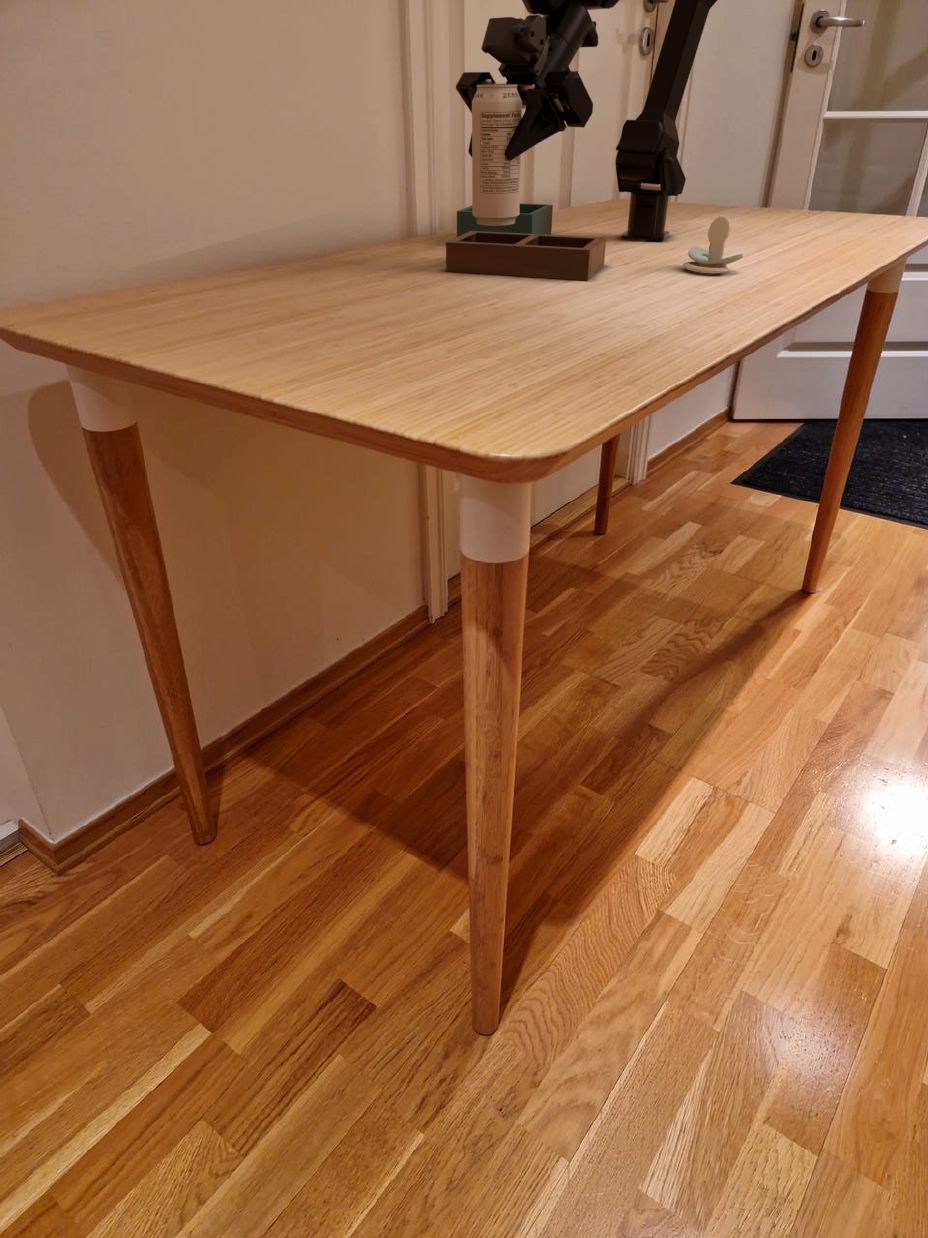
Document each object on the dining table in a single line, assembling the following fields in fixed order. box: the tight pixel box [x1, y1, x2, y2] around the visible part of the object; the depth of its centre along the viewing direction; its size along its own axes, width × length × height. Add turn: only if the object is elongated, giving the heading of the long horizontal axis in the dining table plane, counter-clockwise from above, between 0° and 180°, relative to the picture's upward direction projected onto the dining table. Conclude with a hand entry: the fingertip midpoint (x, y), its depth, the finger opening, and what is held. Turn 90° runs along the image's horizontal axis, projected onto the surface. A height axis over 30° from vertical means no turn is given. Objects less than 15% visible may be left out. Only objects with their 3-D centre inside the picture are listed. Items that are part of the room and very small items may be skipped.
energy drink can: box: [471, 83, 523, 226], centre depth 104 cm, size 6×6×15 cm
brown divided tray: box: [445, 231, 607, 282], centre depth 108 cm, size 10×19×4 cm, turn 70°
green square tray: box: [456, 202, 554, 238], centre depth 127 cm, size 12×12×4 cm
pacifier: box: [681, 216, 744, 274], centre depth 106 cm, size 7×6×6 cm
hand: (488, 156), depth 103 cm, fingers closed on energy drink can, 6 cm apart
